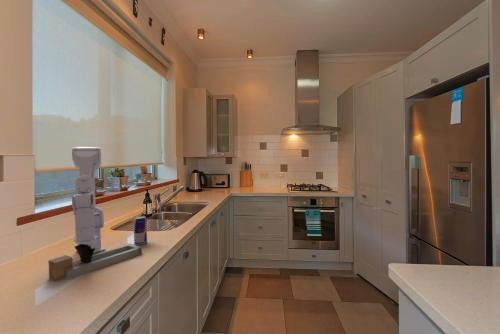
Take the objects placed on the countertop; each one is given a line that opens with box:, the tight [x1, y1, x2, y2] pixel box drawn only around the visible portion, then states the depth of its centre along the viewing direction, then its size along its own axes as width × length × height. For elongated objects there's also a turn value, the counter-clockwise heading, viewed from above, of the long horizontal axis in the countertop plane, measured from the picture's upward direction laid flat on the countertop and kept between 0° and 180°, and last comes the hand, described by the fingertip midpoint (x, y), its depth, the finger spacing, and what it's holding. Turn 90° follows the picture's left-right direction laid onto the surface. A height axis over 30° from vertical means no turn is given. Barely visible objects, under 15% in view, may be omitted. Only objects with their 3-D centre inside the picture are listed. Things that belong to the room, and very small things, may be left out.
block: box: [47, 254, 86, 282], centre depth 85 cm, size 4×9×6 cm, turn 149°
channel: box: [65, 243, 143, 280], centre depth 95 cm, size 9×26×2 cm, turn 145°
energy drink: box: [133, 215, 148, 246], centre depth 116 cm, size 5×5×12 cm
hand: (86, 264), depth 90 cm, fingers closed
